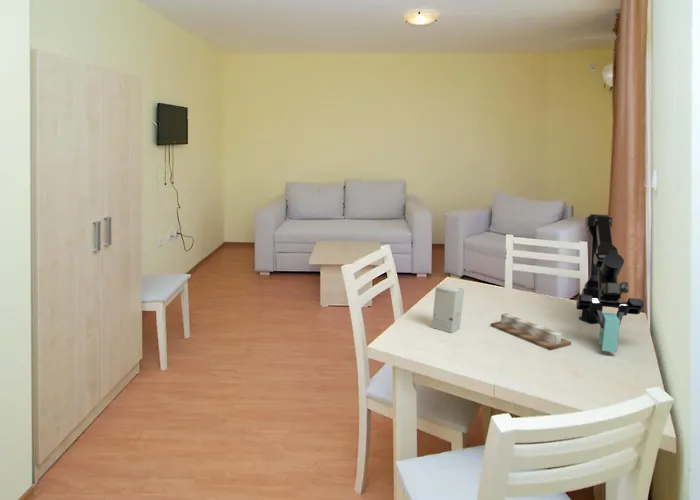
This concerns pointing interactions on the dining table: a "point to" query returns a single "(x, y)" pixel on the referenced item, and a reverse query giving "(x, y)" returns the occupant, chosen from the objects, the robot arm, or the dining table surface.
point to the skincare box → (447, 308)
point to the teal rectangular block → (609, 332)
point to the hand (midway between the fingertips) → (610, 328)
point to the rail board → (530, 337)
